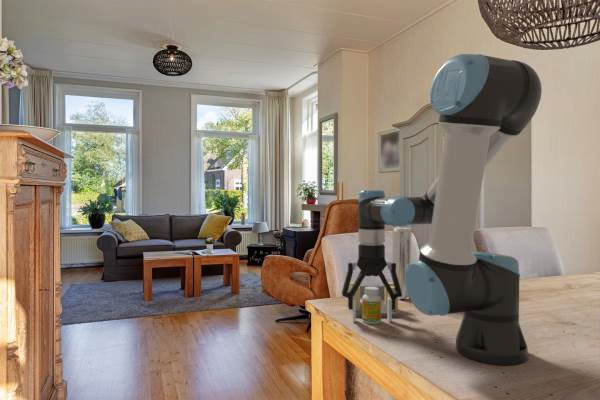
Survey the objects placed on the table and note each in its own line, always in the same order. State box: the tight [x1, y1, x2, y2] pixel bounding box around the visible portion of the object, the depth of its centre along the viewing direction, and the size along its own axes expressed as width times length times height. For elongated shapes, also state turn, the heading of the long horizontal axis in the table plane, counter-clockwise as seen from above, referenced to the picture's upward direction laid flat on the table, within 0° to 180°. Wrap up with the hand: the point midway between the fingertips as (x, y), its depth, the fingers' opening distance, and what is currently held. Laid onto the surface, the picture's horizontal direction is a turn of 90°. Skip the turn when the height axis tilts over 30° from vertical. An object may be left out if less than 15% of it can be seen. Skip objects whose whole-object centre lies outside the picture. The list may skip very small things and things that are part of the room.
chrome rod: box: [392, 227, 412, 300], centre depth 146 cm, size 6×6×25 cm
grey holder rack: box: [348, 281, 399, 318], centre depth 133 cm, size 20×14×8 cm
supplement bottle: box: [361, 287, 382, 325], centre depth 119 cm, size 5×5×10 cm
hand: (371, 320), depth 119 cm, fingers open, 10 cm apart
